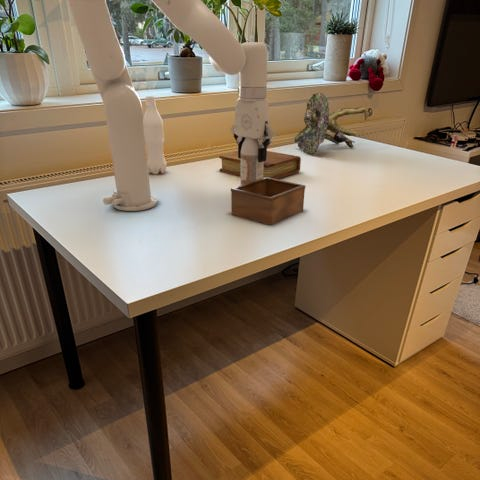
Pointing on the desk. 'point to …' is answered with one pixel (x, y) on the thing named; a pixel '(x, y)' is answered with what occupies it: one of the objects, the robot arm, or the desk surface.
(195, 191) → the desk surface
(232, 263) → the desk surface
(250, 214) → the open wooden box
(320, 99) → the tree stump
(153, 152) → the water bottle
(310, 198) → the desk surface
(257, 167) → the bath foam
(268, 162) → the diary
